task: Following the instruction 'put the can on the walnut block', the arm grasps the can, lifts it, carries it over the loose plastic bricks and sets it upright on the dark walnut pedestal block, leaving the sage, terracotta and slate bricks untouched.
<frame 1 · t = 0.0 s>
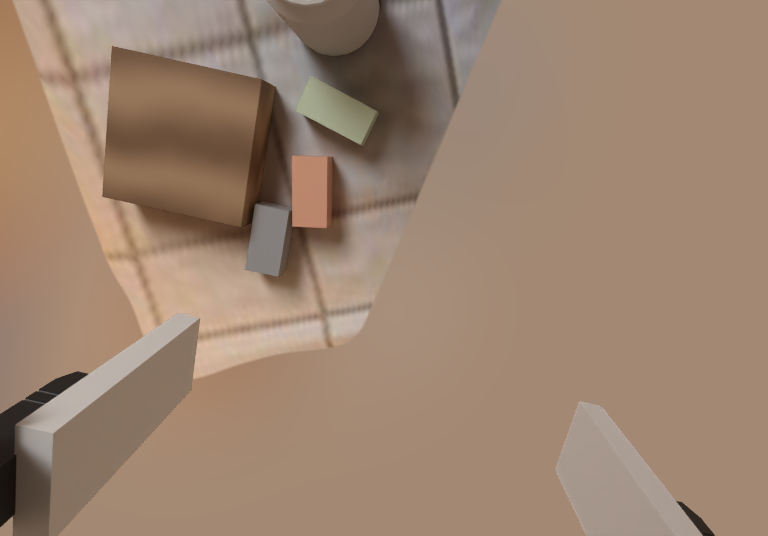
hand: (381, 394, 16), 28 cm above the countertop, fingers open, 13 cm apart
brick terracotta: (316, 190, 42), on the countertop
can: (335, 10, 39), on the countertop
brick sage: (341, 114, 40), on the countertop
brick slate: (275, 235, 43), on the countertop
walnut block: (200, 141, 41), on the countertop
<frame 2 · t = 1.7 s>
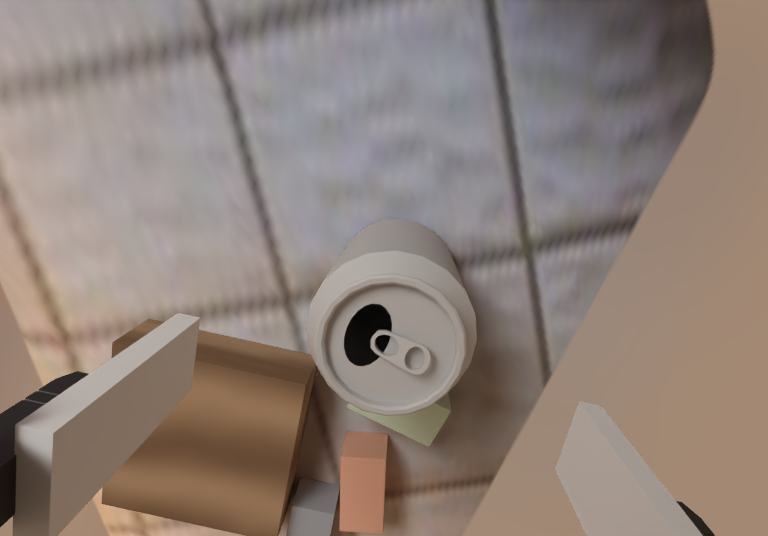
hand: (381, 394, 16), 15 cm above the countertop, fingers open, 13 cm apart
brick terracotta: (366, 466, 34), on the countertop
can: (397, 272, 30), on the countertop
brick sage: (399, 386, 32), on the countertop
brick slate: (315, 512, 35), on the countertop
walnut block: (223, 412, 33), on the countertop
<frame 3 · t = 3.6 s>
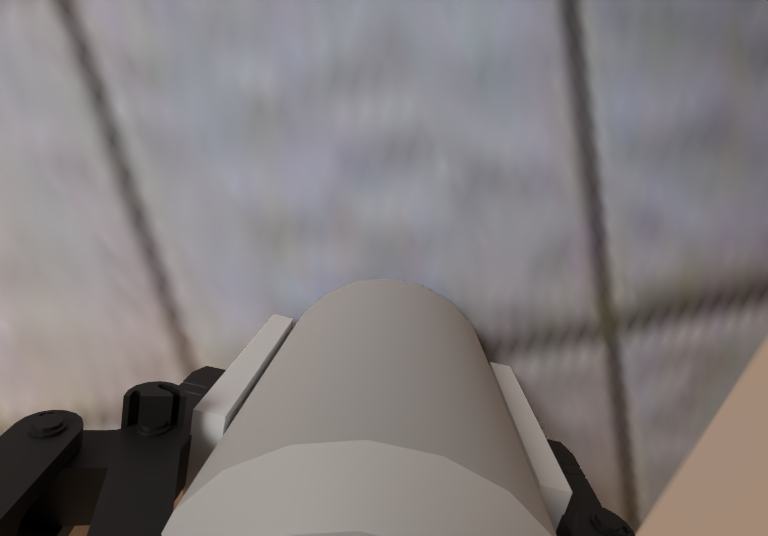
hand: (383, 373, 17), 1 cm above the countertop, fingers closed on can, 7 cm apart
can: (385, 363, 18), on the countertop, touching gripper
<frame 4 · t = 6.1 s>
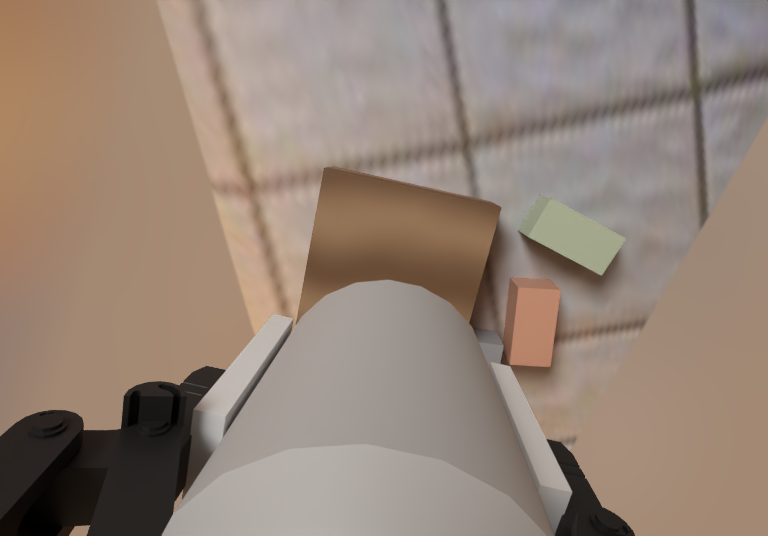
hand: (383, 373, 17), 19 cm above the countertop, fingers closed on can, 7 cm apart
brick terracotta: (524, 314, 36), on the countertop
can: (384, 364, 18), point 18 cm above the countertop, touching gripper
brick sage: (562, 230, 35), on the countertop
brick slate: (471, 362, 38), on the countertop
walnut block: (394, 260, 36), on the countertop
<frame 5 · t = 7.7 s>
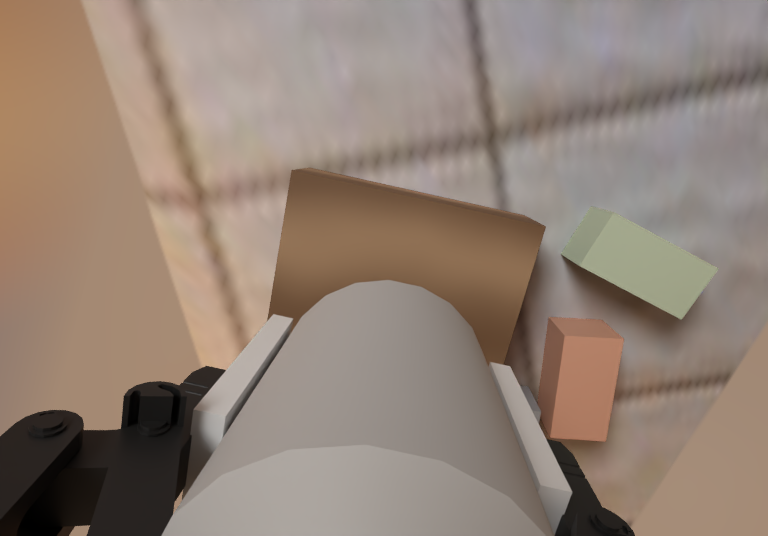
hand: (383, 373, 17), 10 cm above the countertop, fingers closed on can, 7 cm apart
brick terracotta: (567, 364, 27), on the countertop
can: (384, 365, 18), point 9 cm above the countertop, touching gripper
brick sage: (620, 254, 26), on the countertop
walnut block: (393, 294, 26), on the countertop
when the fingers open (6 cm above the countertop, at t = 8.9 s): can drops 1 cm, resting on walnut block.
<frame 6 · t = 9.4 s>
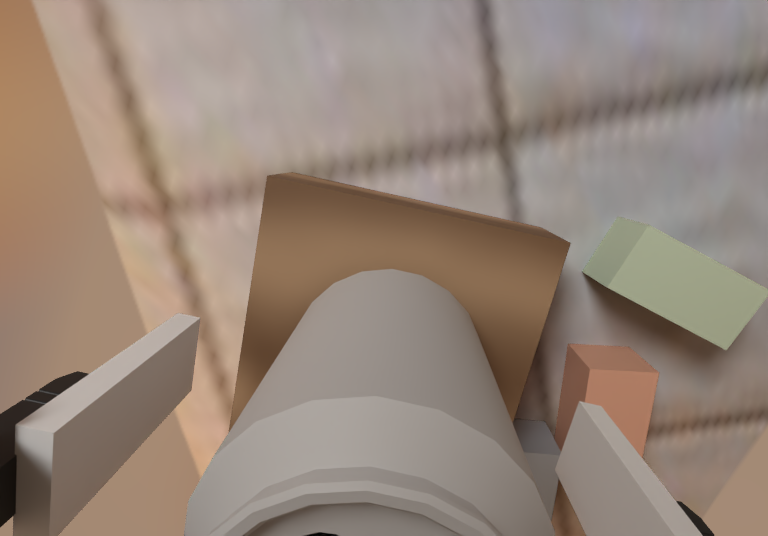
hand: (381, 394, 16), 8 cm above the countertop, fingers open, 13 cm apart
brick terracotta: (588, 397, 24), on the countertop
can: (387, 348, 19), point 4 cm above the countertop, touching walnut block
brick sage: (651, 272, 22), on the countertop
brick slate: (508, 466, 25), on the countertop
walnut block: (389, 317, 23), on the countertop
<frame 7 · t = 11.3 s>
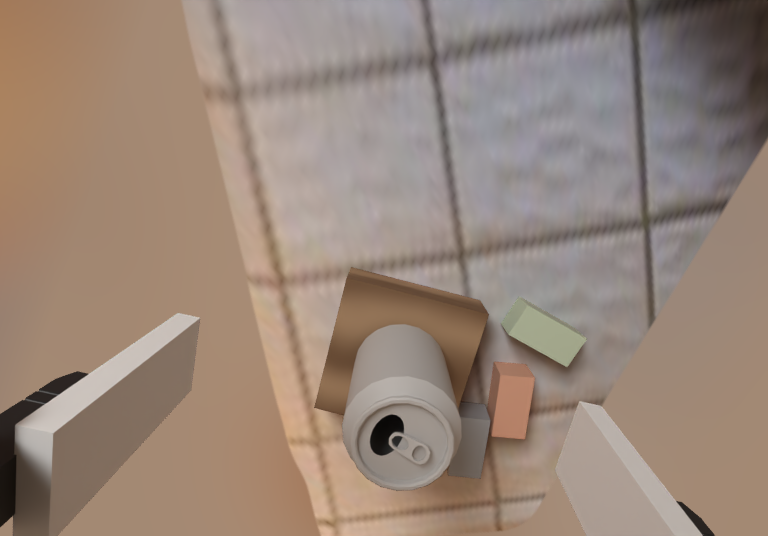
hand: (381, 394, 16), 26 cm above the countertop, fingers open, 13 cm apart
brick terracotta: (505, 391, 44), on the countertop
can: (399, 361, 39), point 4 cm above the countertop, touching walnut block
brick sage: (537, 325, 42), on the countertop
brick slate: (464, 429, 45), on the countertop
walnut block: (398, 344, 43), on the countertop
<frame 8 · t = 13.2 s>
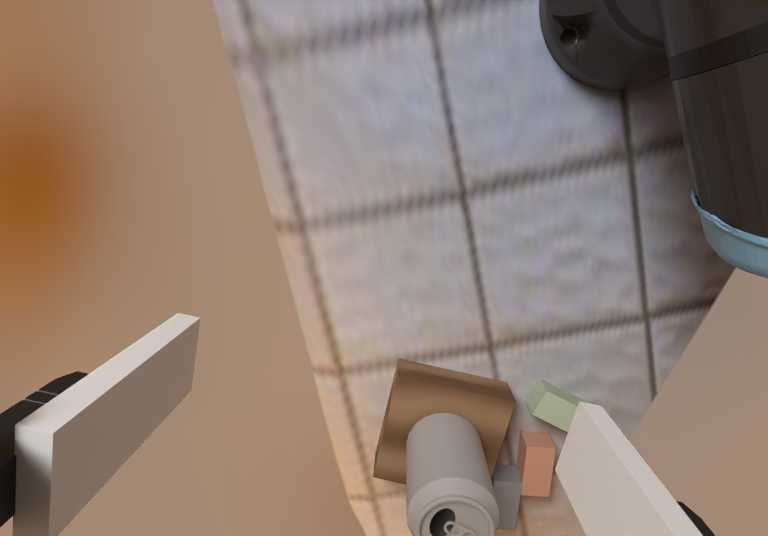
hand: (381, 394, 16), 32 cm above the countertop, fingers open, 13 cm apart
brick terracotta: (530, 454, 52), on the countertop
can: (442, 439, 47), point 4 cm above the countertop, touching walnut block
brick sage: (555, 400, 50), on the countertop
brick slate: (499, 486, 53), on the countertop
walnut block: (439, 418, 51), on the countertop
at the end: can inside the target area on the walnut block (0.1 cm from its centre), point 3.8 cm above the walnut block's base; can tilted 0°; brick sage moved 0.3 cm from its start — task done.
